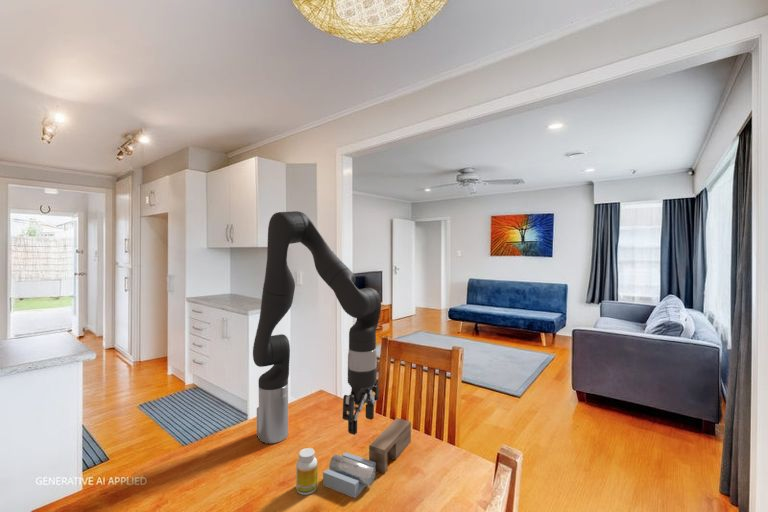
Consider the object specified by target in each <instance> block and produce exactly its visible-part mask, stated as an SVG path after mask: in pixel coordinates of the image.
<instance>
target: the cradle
mask: <svg viewBox="0 0 768 512" xmlns="http://www.w3.org/2000/svg"><path fill="white" fill-rule="evenodd" d="M341 456H342V457H345V458H348V459H351V460H354V461H357V462H359V463H362V464H365V465H368V466H371V467H374V468H375V471H376V462H373V461H370V460H369V459H367V458H364V457H361V456H358V455H355V454H352V453H349V452H346V451H345V452H343V454H342V455H341ZM376 472H377V471H376ZM376 475H377V473H375V476H376ZM322 483H323V484H322V485H323V486H324V487H327V488H329V489H331V490H334V491H335V492H338V493H341V494H342V495H345V496H348V497H350V498H354V499H356V498H357V497H358V496H359V495H360V494H361V493H362V492H363V490H364V489H365V488H366V487H367V485H365V484H363V483H360V482H359V481H358V480H355V479H352V478H350V477H347V476H344V475H342V474H339V473H337V472H334V471H331V470H329V468H326V469H325V470H324V471H323V472H322Z"/></svg>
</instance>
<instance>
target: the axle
mask: <svg viewBox="0 0 768 512" xmlns="http://www.w3.org/2000/svg"><path fill="white" fill-rule="evenodd" d="M328 469H329V470H331V471H334V472H337V473H339V474H342V475H344V476H347V477H350V478H352V479H355V480H358V481H359V482H360V483H363V484H365V485H366V486H369V487H370V486H372V485H373V483H374V481H375V478H376V475H375V473H376V472H377V471H375V468H374V467H371V466H368V465H365V464H362V463H359V462H357V461H354V460H351V459H348V458H345V457H342V455H340V454H337V453H336V454H333V455H332V457H331V459H330V461H329V465H328ZM376 474H377V473H376Z"/></svg>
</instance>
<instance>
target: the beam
mask: <svg viewBox="0 0 768 512" xmlns="http://www.w3.org/2000/svg"><path fill="white" fill-rule="evenodd" d="M411 435H412V421H410V420H405V419H403V418H398V417H396V418H395V419H394V420H393V421H392V422H391V423H390V424H389V425H388V426H387V427H386V428H385V429H384V430H383V431H382V432H381V433H380V434H379V435H378V436H376V438H375V439H374V440H372V442H371V443H370V444H369V445H368V460H370V461H373V462H376V472H379V473H381V474H386V473H387V472H388V459H391V460H395V461H396V460H397V459H399V457H400V456H401V454H402V453H403V452H404V451H405V450H406V448H407V447H408V446H409V445H410V443H411V442H412V440H411V439H412V436H411Z"/></svg>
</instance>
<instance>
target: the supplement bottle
mask: <svg viewBox="0 0 768 512" xmlns="http://www.w3.org/2000/svg"><path fill="white" fill-rule="evenodd" d="M295 467H296V468H295V469H296V470H295V472H296V473H295V474H296V476H295V478H296V479H295V481H296V482H295V488H296V492H297V493H299V494H300V495H303V496H308V495H311V494H313V493H314V492H315V491H316V490H317V488H318V459H317V458H316V451H315V449H314V448H312V447H306V448H303V449H301V450H299V452H298V460H297V461H296V465H295Z"/></svg>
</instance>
